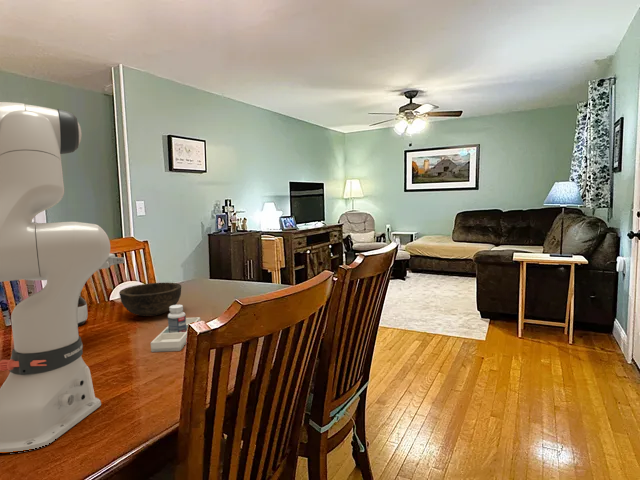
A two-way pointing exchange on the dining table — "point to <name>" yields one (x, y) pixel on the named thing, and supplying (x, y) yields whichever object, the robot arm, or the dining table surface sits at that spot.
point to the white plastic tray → (171, 339)
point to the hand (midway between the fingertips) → (116, 262)
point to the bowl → (150, 298)
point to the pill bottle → (176, 319)
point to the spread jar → (82, 311)
